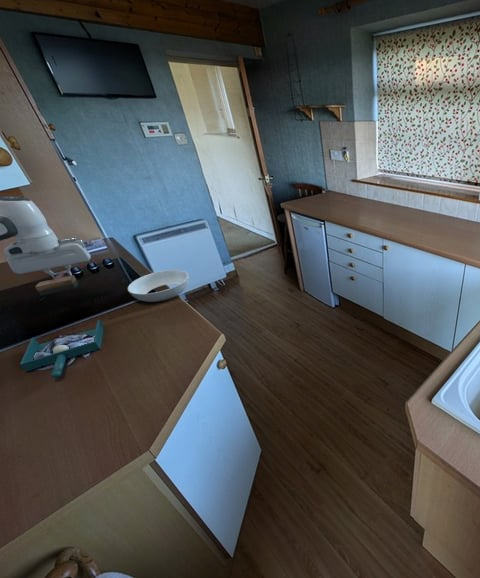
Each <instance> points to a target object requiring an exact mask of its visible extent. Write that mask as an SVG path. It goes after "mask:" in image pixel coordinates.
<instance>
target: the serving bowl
mask: <svg viewBox="0 0 480 578" xmlns="http://www.w3.org/2000/svg"><path fill="white" fill-rule="evenodd" d="M189 284H190V276H189V273H188V272H187V271H185V270H181V269H166V270H160V271H159V270H158V271H155V272H152V273H149V274H145V275H143V276H141V277H140V276H139V278H136V279H135V280H133V281H132V282H130V283H129V285H128V286H127V291H128V292H129V294H130V295H131V297H133V298H134V299H136V300H138V301H141V302H146V303H156V302H163V301H167V300H170V299H173V298H175V297H177V296H179V295H181V294H182V293H183V292H184V291H185V290H186V289H187V288H188V286H189ZM166 285H175V286H172V287H171V288H168V289H164V290H160V291H156V292H150V291H152V290H154V289H156V288H159V287H162V286H166ZM149 292H150V293H149Z"/></svg>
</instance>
